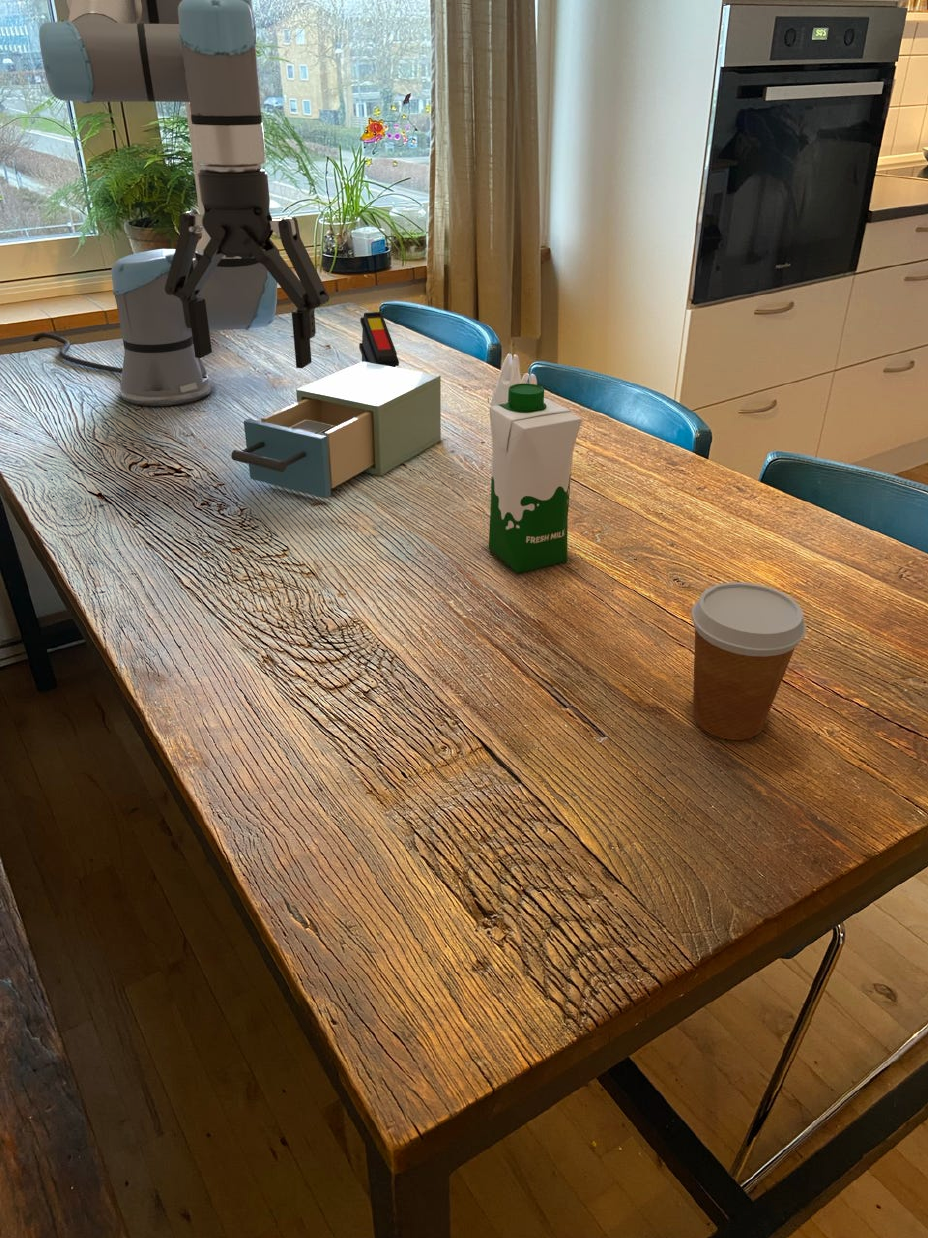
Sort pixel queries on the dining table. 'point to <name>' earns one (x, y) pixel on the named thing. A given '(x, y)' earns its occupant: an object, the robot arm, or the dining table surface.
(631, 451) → the dining table surface
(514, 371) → the shaker set
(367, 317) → the black switch panel
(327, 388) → the cabinet
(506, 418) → the milk carton
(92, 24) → the robot arm
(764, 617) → the disposable coffee cup
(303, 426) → the cream box
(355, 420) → the drawer
